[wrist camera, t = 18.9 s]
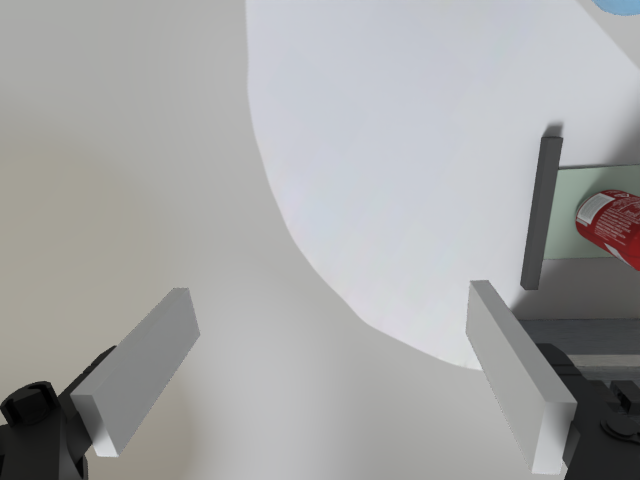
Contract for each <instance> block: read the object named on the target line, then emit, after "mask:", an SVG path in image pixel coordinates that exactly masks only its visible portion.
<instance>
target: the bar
mask: <svg viewBox="0 0 640 480" xmlns="http://www.w3.org/2000/svg"><path fill="white" fill-rule="evenodd" d="M562 143H563V138H561V137H544V138H541V145H540V152H539V159H538V166H537V172H536V179H535V186H534V193H533V200H532V207H531V214H530V220H529V227H528V234H527V241H526V248H525V255H524V262H523V268H522V275H521V282H520V285H521V286H522V287H523V288H524V289H525V290H538V285H539V280H540V274H541V268H542V262H543V256H544V250H545V244H546V238H547V232H548V226H549V220H550V214H551V208H552V202H553V196H554V190H555V184H556V178H557V172H558V166H559V160H560V154H561V148H562Z"/></svg>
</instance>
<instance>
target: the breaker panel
mask: <svg viewBox="0 0 640 480" xmlns="http://www.w3.org/2000/svg"><path fill="white" fill-rule="evenodd" d="M518 322H519V323H520V324H521V326H522V327H523V329H524V330H525V331H526V333H527V334H528V335H529V337H530V338H531V340H532V341H533V342H534V343H551V344H552V345H554V346H555V347H557V348H558V349H560V350H561V351H563V352H564V353H565V354H566V355H567V356H568V357H569V359H570V360H571V361H572V362H573V363H574V366H575V367H577V368H578V370H579V371H580V372H581V373H582V376H584V377H585V378H586V379H587V380H588V382H589V383H590V384H591V385H592V387H593V388H594V389H595V390H596V391H597V393H598V394H599V395H600V396H601V397H602V399H603V400H604V401H605V402H606V404H607V405H608V406H609V407H610V408H611V410H612V411H613V412H616V413H619V414H622V415H624V416H626V417H628V418H630V419H632V420H634V421H635V422H637V423H638V424H639V425H640V319H572V320H518Z"/></svg>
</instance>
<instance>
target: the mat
mask: <svg viewBox="0 0 640 480" xmlns="http://www.w3.org/2000/svg"><path fill="white" fill-rule="evenodd" d="M608 189H616V190H621V191H624V192H627V193H630V194H633V195H635V196H638V197H640V165H627V166H610V167H594V168H577V169H561V170H558V172H557V178H556V184H555V190H554V196H553V202H552V208H551V214H550V220H549V226H548V232H547V238H546V244H545V250H544V256H543V259H568V258H600V257H615V256H613V255H611V254H610V253H608V252H607V251H605V250H603V249H602V248H600V247H598V246H597V245H595V244H594V243H592V242H590V241H589V240H587V239H585V238H584V237H582V236H581V235H580V234H579V233H578V231H577V230H576V227H575V215H576V212H577V210H578V208H579V207H580V205H581V204H582V203H583V202H584V201H585V200H586V199H587V198H588V197H590V196H591V195H593V194H595V193H597V192H600V191H603V190H608Z"/></svg>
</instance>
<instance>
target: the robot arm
mask: <svg viewBox="0 0 640 480" xmlns="http://www.w3.org/2000/svg"><path fill="white" fill-rule="evenodd" d="M592 1H593V2H594V3H595V4H596V5H597V6H598V7H599V8H600V9H602V10H603V11H605V12H609V13H612V14H614V15H621V16H628V15H637V14H640V0H592ZM466 335H467V337H468V339H469V341H470V343H471V345H472V348H473V350H474V352H475V354H476V356H477V358H478V360H479V362H480V365H481V367H482V369H483V371H484V373H485V375H486V377H487V380H488V382H489V384H490V386H491V388H492V390H493V392H494V394H495V397H496V399H497V401H498V403H499V405H500V407H501V410H502V412H503V414H504V416H505V418H506V420H507V422H508V424H509V427H510V429H511V431H512V433H513V435H514V437H515V439H516V441H517V444H518V446H519V448H520V450H521V452H522V454H523V456H524V459H525V461H526V463H527V465H528V467H529V469H530V471H531V473H536V474H560V470H561V466H562V463H563V461H564V462H565V464H566V466H567V468H568V470H567V473H566V476H565V479H564V480H640V425H639V424H638V423H637V422H635V421H634V420H632V419H630V418H628V417H626V416H624V415H622V414H619V413H616V412H613V411H612V410H611V408H610V407H609V406H608V405H607V404H606V402H605V401H604V400H603V399H602V397H601V396H600V395H599V394H598V393H597V391H596V390H595V389H594V388H593V387H592V385H591V384H590V383H589V382H588V380H587V379H586V378H585V377H584V376H582V373H581V372H580V371H579V370H578V368H577V367H575V366H574V363H573V362H572V361H571V360H570V359H569V357H568V356H567V355H566V354H565V353H564V352H563V351H561V350H560V349H558V348H557V347H555V346H554V345H552V344H551V343H534V342H533V341H532V340H531V338H530V337H529V335H528V334H527V333H526V331H525V330H524V329H523V327H522V326H521V324H520V323H519V322H518V320H517V319H516V318H515V316H514V315H513V313H512V312H511V311H510V309H509V308H508V307H507V305H506V304H505V303H504V301H503V300H502V298H501V297H500V296H499V294H498V293H497V292H496V290H495V289H494V287H493V286H492V285H491V283H490V282H489V281H488V280H481V281H470V286H469V298H468V310H467V322H466ZM199 336H200V332H199V328H198V324H197V320H196V316H195V312H194V308H193V304H192V300H191V296H190V292H189V288H173V290H171V291H170V292H169V293H168V294H167V296H166V297H165V298H164V299H163V300H162V301H161V302H160V303H159V304H158V305H157V306H156V307H155V308H154V309H153V310H152V311H151V312H150V313H149V314H148V315H147V316H146V317H145V318H144V319H143V320H142V321H141V322H140V323H139V324H138V325H137V326H136V327H135V329H133V330H132V331H131V332H130V333H129V335H127V336H126V338H125V339H124V340H123V341H122V342H121V343H120V344H119V345H118V346H113V347H111V348H109V349H108V350H106V351H105V352H103V353H102V354H100V355H99V356H98V357H97V358H96V359H95V360H94V361H93V362H92V364H91V366H88V367H87V368H86V369H85V370H84V371H83V374H80V375H79V376H78V377H77V378H76V379H75V380H74V381H73V382H72V383H71V384H70V385H69V386H68V387H67V388H66V389H65V390H64V391H63V392H62V393H61V394H60V395H59V396H58V397H57V395H56V393H55V391H54V389H53V387H52V385H51V383H50V382H47V381H41V382H35V383H32V384H29V385H26V386H24V387H22V388H20V389H18V390H17V391H15V392H14V393H12V394H11V395H9V396H8V397H7V398H6V399H5V400H4V401H3V402H2V404H1V406H0V410H1V412H2V414H3V415H4V417H5V419H6V421H7V422H8V424H5V425H1V426H0V480H88V463H87V459H86V457H85V455H84V454H85V452H86V451H87V450H88V448H89V447H90V446H91V444H92V445H93V447H94V449H95V451H96V453H97V456H105V457H119V455H120V454H121V452H122V451H123V449H124V448H125V446H126V445H127V443H128V442H129V440H130V439H131V437H132V436H133V434H134V433H135V431H136V430H137V428H138V427H139V425H140V424H141V422H142V421H143V419H144V418H145V416H146V415H147V413H148V412H149V410H150V409H151V407H152V406H153V405H154V403H155V401H156V400H157V398H158V397H159V395H160V394H161V393H162V391H163V389H164V388H165V387H166V385H167V384H168V382H169V381H170V379H171V378H172V376H173V375H174V373H175V371H176V370H177V368H178V367H179V366H180V364H181V363H182V361H183V360H184V358H185V356H186V355H187V354H188V352H189V351H190V349H191V348H192V346H193V345H194V343H195V342H196V340H197V339H198V337H199Z"/></svg>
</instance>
